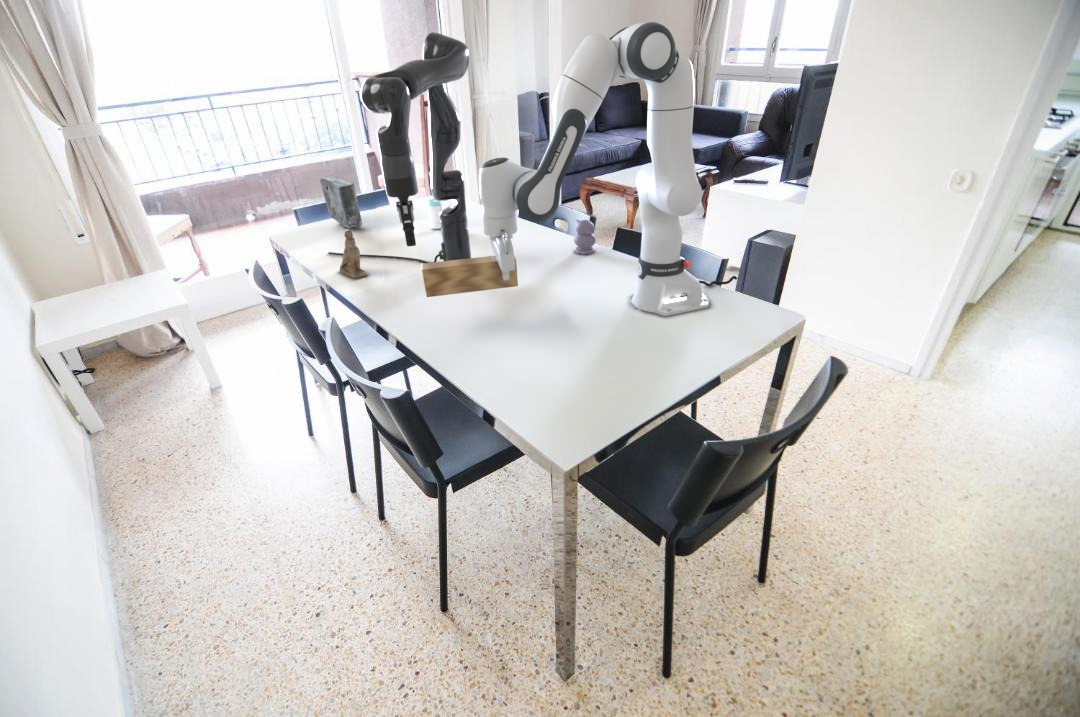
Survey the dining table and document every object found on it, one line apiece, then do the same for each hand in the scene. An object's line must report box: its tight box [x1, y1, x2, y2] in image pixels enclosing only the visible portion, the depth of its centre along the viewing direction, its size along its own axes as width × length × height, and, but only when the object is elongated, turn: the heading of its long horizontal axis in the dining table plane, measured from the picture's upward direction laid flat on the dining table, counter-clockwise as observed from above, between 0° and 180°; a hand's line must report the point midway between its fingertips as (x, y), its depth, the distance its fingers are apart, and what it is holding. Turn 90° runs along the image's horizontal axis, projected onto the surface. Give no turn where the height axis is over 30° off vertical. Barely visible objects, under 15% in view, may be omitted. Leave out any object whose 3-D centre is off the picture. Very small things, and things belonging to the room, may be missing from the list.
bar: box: [421, 255, 519, 298], centre depth 134 cm, size 25×4×8 cm, turn 102°
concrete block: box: [319, 175, 363, 229], centre depth 226 cm, size 27×9×20 cm, turn 36°
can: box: [426, 198, 445, 230], centre depth 220 cm, size 7×7×12 cm
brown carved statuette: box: [339, 229, 367, 280], centre depth 174 cm, size 12×6×18 cm, turn 43°
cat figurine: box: [573, 218, 597, 255], centre depth 187 cm, size 8×8×12 cm
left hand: (410, 240), depth 126 cm, fingers open, 8 cm apart
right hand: (504, 275), depth 136 cm, fingers closed on bar, 4 cm apart
